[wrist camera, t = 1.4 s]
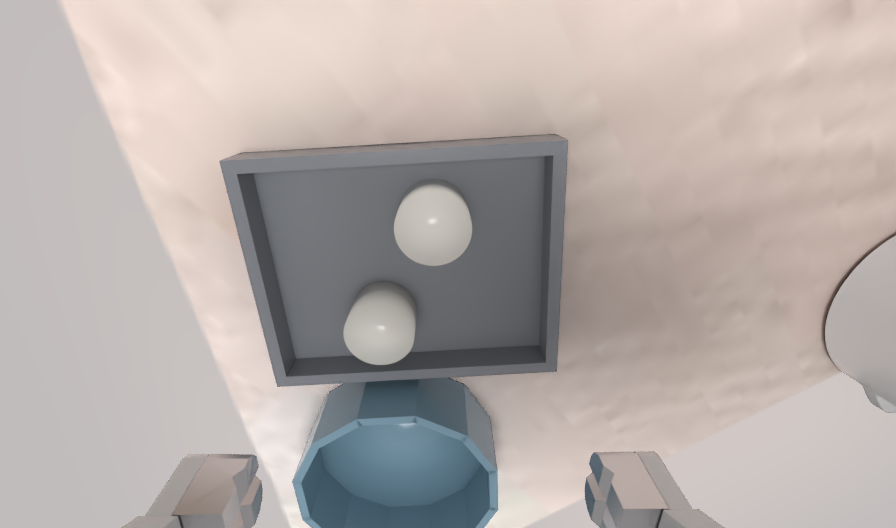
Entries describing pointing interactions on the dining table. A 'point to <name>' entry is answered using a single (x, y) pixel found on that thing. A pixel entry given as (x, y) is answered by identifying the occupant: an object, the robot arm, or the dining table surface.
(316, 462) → the bowl
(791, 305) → the dining table surface
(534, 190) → the tray
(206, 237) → the dining table surface
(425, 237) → the stone
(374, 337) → the stone
